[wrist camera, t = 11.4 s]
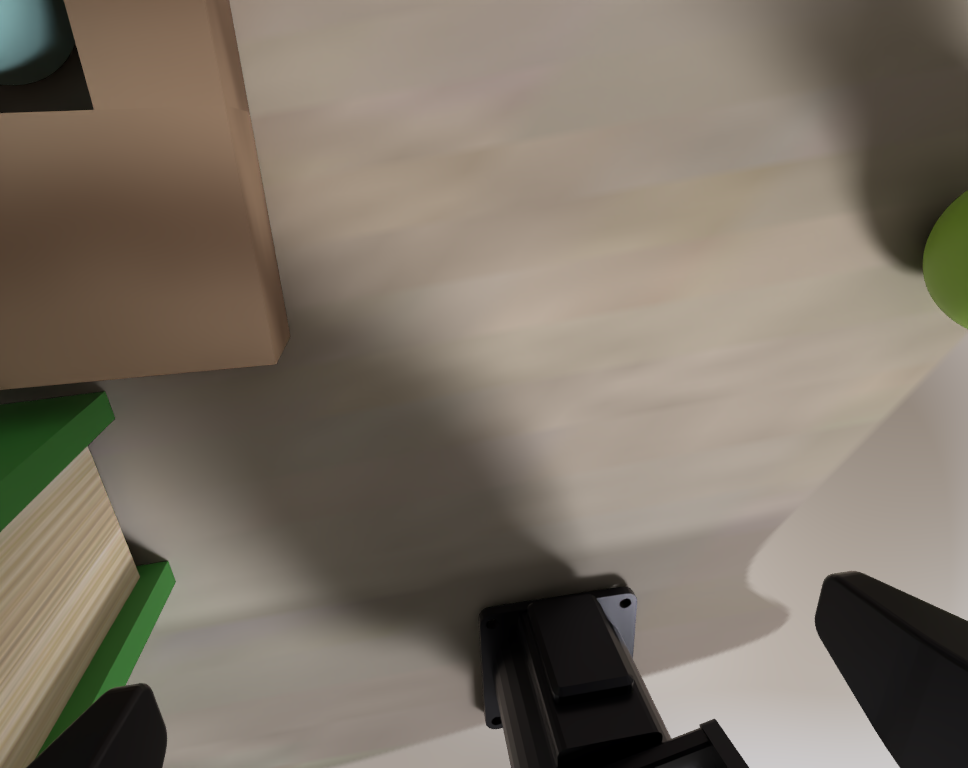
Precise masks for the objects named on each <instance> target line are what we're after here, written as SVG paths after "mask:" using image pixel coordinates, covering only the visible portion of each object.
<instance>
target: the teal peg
mask: <svg viewBox="0 0 968 768" xmlns="http://www.w3.org/2000/svg"><path fill="white" fill-rule="evenodd" d="M74 44H75V39H74V36H73V32H72V28H71V25H70V21H69V18H68V14H67V10H66V7H65V3H64V0H0V85H23V84H28V83H33V82H36V81H39V80H41V79H43V78H46V77H47V76H49V75H51V74H52V73H54V72H55V71H56V70H57V69H58V68H59V67H61V66H62V64H63V63H64V62H65V61H66V59H67V58H68V57H69V55H70V53H71V51H72V49H73V47H74Z"/></svg>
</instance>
